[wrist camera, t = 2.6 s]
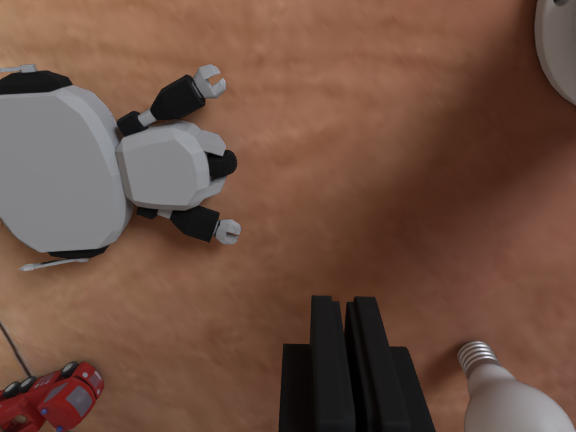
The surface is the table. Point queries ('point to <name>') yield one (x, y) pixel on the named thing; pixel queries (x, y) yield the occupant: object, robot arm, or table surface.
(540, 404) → the lightbulb
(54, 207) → the robot toy
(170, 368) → the table surface
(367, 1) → the table surface
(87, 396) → the toy fire truck
